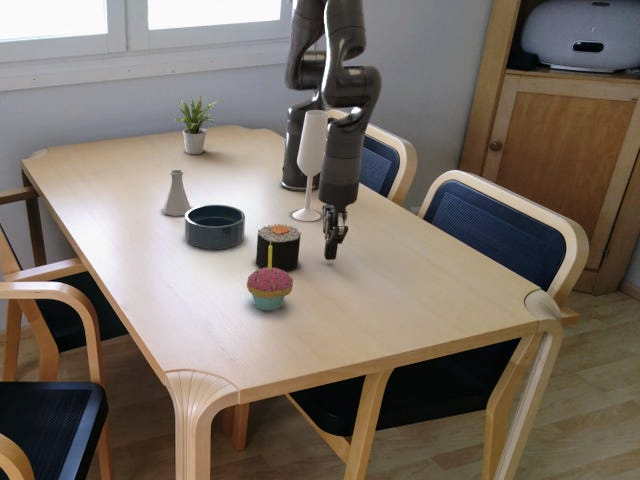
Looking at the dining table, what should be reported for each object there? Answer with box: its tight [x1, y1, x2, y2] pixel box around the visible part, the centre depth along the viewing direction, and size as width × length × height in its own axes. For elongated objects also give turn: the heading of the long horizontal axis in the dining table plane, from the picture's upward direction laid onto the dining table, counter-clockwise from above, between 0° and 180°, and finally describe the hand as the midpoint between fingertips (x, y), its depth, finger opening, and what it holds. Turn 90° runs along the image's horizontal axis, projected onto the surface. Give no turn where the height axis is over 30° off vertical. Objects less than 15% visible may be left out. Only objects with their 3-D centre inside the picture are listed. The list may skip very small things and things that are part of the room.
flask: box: [162, 169, 192, 217], centre depth 165 cm, size 7×7×10 cm
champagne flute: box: [291, 110, 329, 222], centre depth 156 cm, size 7×7×24 cm
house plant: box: [174, 95, 219, 155], centre depth 202 cm, size 14×14×16 cm
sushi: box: [255, 223, 302, 273], centre depth 139 cm, size 8×8×8 cm
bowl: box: [184, 204, 246, 250], centre depth 152 cm, size 13×13×6 cm
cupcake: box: [246, 241, 294, 312], centre depth 124 cm, size 9×8×12 cm
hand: (329, 258), depth 141 cm, fingers closed
